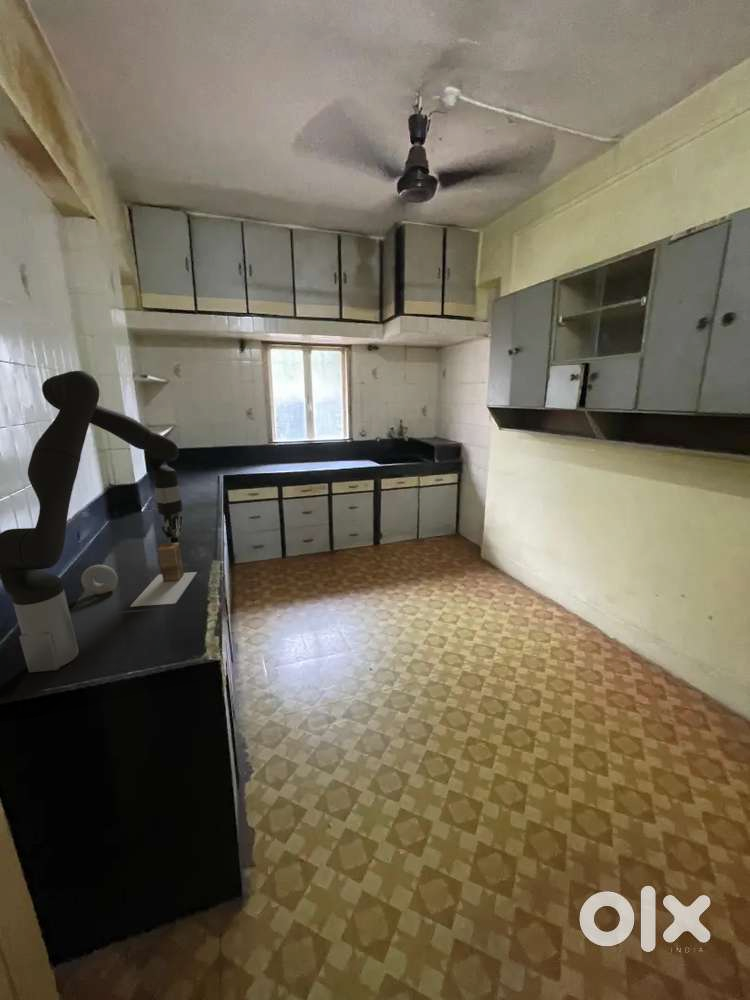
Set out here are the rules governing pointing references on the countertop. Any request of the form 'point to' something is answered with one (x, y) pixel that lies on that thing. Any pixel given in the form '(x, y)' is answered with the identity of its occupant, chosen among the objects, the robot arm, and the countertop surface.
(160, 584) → the grey mat
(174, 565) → the walnut block
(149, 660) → the countertop surface
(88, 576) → the donut
